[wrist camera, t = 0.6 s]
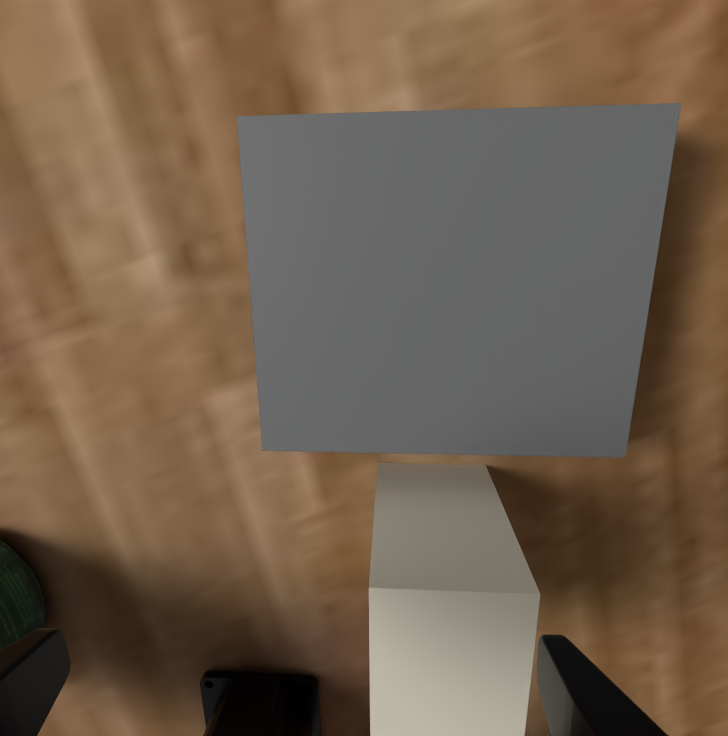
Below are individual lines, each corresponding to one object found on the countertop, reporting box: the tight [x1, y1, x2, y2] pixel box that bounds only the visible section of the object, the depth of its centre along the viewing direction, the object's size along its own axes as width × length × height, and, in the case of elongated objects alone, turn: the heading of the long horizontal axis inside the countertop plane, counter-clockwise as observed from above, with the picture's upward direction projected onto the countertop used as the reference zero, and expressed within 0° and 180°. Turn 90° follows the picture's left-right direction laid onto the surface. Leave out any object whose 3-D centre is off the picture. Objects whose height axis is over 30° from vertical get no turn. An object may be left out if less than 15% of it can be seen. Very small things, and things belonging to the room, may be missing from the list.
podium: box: [237, 103, 681, 458], centre depth 17 cm, size 12×14×3 cm
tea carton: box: [369, 463, 540, 736], centre depth 18 cm, size 6×5×8 cm
